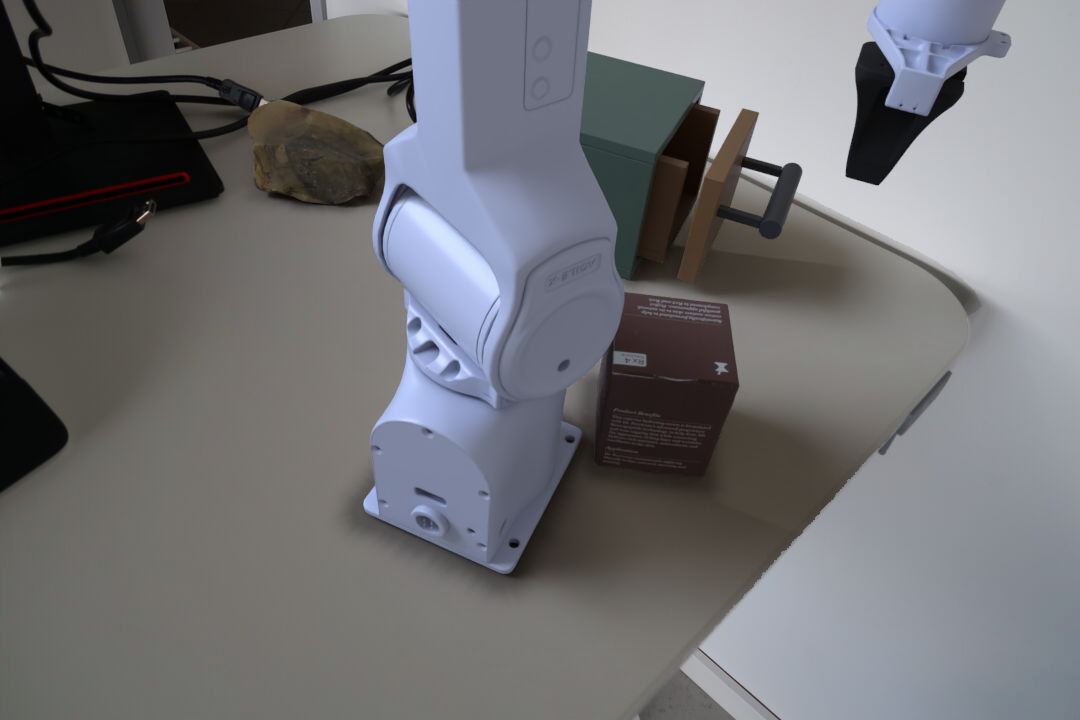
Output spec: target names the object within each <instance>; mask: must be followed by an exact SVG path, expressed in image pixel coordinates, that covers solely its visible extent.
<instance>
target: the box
mask: <svg viewBox="0 0 1080 720" xmlns="http://www.w3.org/2000/svg"><path fill="white" fill-rule="evenodd" d="M730 316H731V315H730V310H729V304H728V303H723V302H722V303H721V302H712V301H704V300H695V299H687V298H679V297H678V298H677V297H669V296H660V295H652V294H645V293H636V292H627V291H624V306H623V311H622V314H621V320H620V324H619V327H618V330H617V332H616V334H615V337H614V339H613V340H612V342H611V344H610V346H609V347H608V349H607V350H606V352H605V353H604V355H603V356H602V357H601V362H600V367H599V372H598V377H597V382H596V399H595V429H594V433H595V434H594V453H593V454H594V455H593V456H594V457H593V459H594V460H593V461H594V465H595V466H599V467H608V468H609V467H610V468H618V469H626V470H627V469H628V470H636V471H645V472H655V473H662V474H670V475H679V476H680V475H681V476H688V477H696V478H697V477H698V478H704V477H706V474H707V471H708V469H709V467H710V464H711V461H712V459H713V456H714V453H715V451H716V449H717V445H718V442H719V440H720V437H721V435H722V433H723V429H724V427H725V424H726V421H727V419H728V417H729V414H730V413H731V410H732V407H733V405H734V402H735V399H736V396H737V393H738V391H739V389H740V388H741V385H740V380H739V373H738V366H737V360H736V353H735V346H734V338H733V332H732V331H733V329H732V324H731V317H730Z"/></svg>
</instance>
